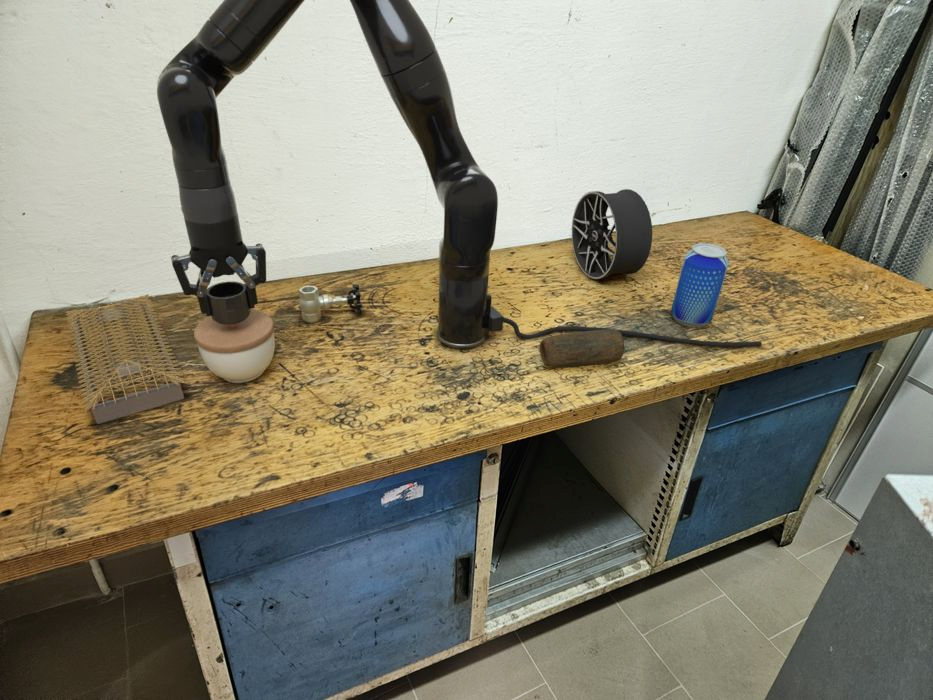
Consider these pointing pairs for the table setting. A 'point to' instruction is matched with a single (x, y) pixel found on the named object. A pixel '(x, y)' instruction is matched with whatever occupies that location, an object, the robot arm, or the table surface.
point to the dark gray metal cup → (228, 302)
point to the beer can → (699, 285)
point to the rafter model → (126, 368)
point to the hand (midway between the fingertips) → (230, 309)
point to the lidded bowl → (237, 346)
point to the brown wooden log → (582, 348)
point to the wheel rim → (595, 234)
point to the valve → (325, 302)
